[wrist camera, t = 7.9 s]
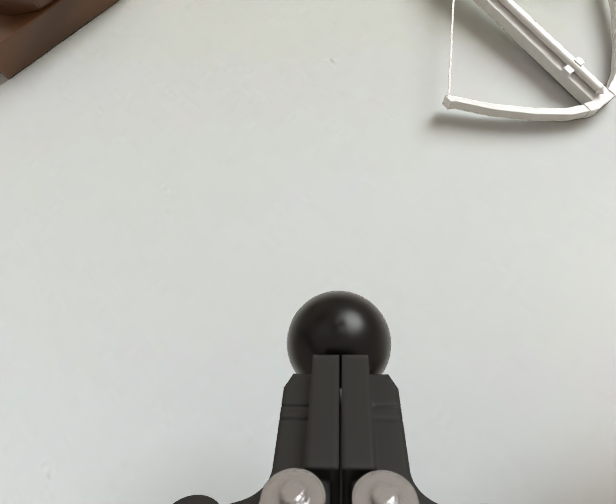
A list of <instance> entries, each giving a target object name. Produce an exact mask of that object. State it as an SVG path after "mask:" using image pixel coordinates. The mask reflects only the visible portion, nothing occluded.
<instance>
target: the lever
mask: <svg viewBox="0 0 616 504" xmlns="http://www.w3.org/2000/svg"><path fill="white" fill-rule="evenodd" d="M287 350H288V356H289V359H290V362H291V364H292V367H293V369H294V370H295V372H296V373H297V374H311V373H312V360H313V355H339V364H340V504H342V355H368V359H369V372H370V374H382V373H383V371H384V370H385V368H386V366H387V363H388V360H389V357H390V351H391V337H390V332H389V328H388V326H387V323H386V321H385V319H384V317H383V315H382V314H381V312H380V311H379V310H378V309H377V308H376V307H375V306H374V305H373V304H372V303H371V302H370V301H368V300H367V299H365V298H364V297H362V296H360V295H357V294H354V293H351V292H346V291H331V292H326V293H323V294H320V295H317V296H315V297H313V298H312V299H310V300H309V301H307V302H306V303H305V304H304V305H303V306H302V307H301V308H300V309H299V310H298V312H297V313H296V314H295V316H294V318H293V320H292V322H291V324H290V327H289V331H288V336H287Z"/></svg>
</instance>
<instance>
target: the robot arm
mask: <svg viewBox="0 0 616 504" xmlns="http://www.w3.org/2000/svg"><path fill="white" fill-rule="evenodd" d="M173 504H219V503H218V502H217V501H215V500H214V499H212V498H210V497H208V496H204V495H192V496H187V497H185V498H182V499H180V500H178V501H176V502H175V503H173ZM231 504H340V364H339V355H313V360H312V373H311V374H293V375H292V377H291V378H290V380H289V381H288V383H287V384H286V386H285V387H284V391H283V398H282V407H281V412H280V420H279V427H278V434H277V441H276V448H275V455H274V462H273V469H272V473H271V476H270V478H269V480H268V481H267V482H266V484H265V485H264V487H263V488H262V489H261V490H260V491H259V492H257V493H256V494H254V495H253V496H251V497H249V498H247V499H244V500H242V501H238V502H235V503H231ZM342 504H437V503H435V502H433V501H431V500H430V499H428V498H427V497H426V496H424V495H423V494H422V493H421V492H420V491H419V489H418V488H417V487H416V485H415V484H414V482H413V480H412V477H411V474H410V469H409V462H408V455H407V447H406V440H405V433H404V426H403V422H402V412H401V407H400V398H399V391H398V388H397V386H396V385H395V384H394V382H393V381H392V379H391V378H390V376H389V375H382V374H370V372H369V359H368V355H342Z"/></svg>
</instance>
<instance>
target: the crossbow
mask: <svg viewBox="0 0 616 504" xmlns="http://www.w3.org/2000/svg"><path fill="white" fill-rule="evenodd" d="M473 1H474V2H475V3H476V4H477V5H478V6H479V7H480V8H481V9H482V10H484V11H485V12H486V13H487V14H488V15H489V16H490V17H491V18H492V19H493V20H494V21H495V22H496V23H497V24H498V25H499V26H500V27H501V28H502V29H503V30H504V31H506V32H507V33H508V34H509V35H510V36H511V37H512V38H513V39H514V40H515V41H516V42H517V43H518V44H519V45H520V46H521V47H522V48H523V49H524V50H525V51H526V52H528V53H529V54H530V55H531V56H532V57H533V58H534V59H535V60H536V61H537V62H538V63H539V64H540V65H541V66H542V67H543V68H544V69H545V70H546V71H547V72H548V73H550V74H551V75H552V76H553V77H554V78H555V79H556V80H557V81H558V82H559V83H560V84H561V85H562V86H563V87H564V88H565V89H566V90H567V91H568V92H569V93H570V94H572V95H573V96H574V97H575V98H576V99H577V100H578V101H579V102H580V103H581V104H582V105H579V106H574V107H570V108H528V107H518V106H509V105H500V104H491V103H485V102H481V101H476V100H471V99H466V98H461V97H457V96H453V95H450V84H451V62H452V41H453V19H454V0H452V20H451V42H450V63H449V84H448V95H445V98H444V100H443V102H442V104H443V105H444V106H445V107H446V108H447V109H458V110H463V111H468V112H473V113H477V114H482V115H487V116H492V117H501V118H510V119H519V120H528V121H569V120H574V119H579V118H586V117H590V116H593V115H594V114H595V113H596V112H597V111H598V110H599V109H600V108H602V107H603V106H604V105H605V104H606V103H607V104H608V103H609V102H610V101H611V100H612V99H613V98H614V97H615V96H616V0H608V1H609V7H610V12H611V27H612V45H613V47H612V61H611V74H610V77H609V80H608V82H607V85H606V87H605V86H604V85H603V84H602V83H601V82H600V81H599V80H598V79H597V78H595V77H594V76H593V75H592V74H591V73H590V72H589V71H588V70H587V69H586V68H585V67H584V66H583V64H584V63H585V62H584V61H583V60H582V59H581V58H580V57H579V56H578V57H577V58H576V59H575V58H574V57H573V56H572V55H571V54H570V53H569V52H568V51H566V50H565V49H564V48H563V47H562V46H561V45H560V44H559V43H558V42H557V41H556V40H555V39H554V38H553V37H551V36H550V35H549V34H548V33H547V32H546V31H545V30H544V29H543V28H542V27H541V26H540V25H539V24H538V23H536V22H535V21H534V20H533V19H532V18H531V17H530V16H529V15H528V14H527V13H526V12H525V11H524V10H522V9H521V8H520V7H519V6H518V5H517V4H516V3H515V2H514V1H513V0H473Z"/></svg>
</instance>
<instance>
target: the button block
mask: <svg viewBox="0 0 616 504" xmlns="http://www.w3.org/2000/svg"><path fill="white" fill-rule="evenodd" d="M117 1H118V0H0V71H1V72H2V73H3V74H4V75H5V76H6V77H7V78H11V77H12V76H14V75H15V74H16V73H18V72H19V71H21V70H22V69H23V68H25V67H26V66H28V65H29V64H30V63H32V62H33V61H35V60H36V59H37V58H39V57H40V56H42V55H43V54H44V53H46V52H47V51H49V50H50V49H51V48H53V47H54V46H56V45H57V44H58V43H60V42H61V41H63V40H64V39H65V38H67V37H68V36H70V35H71V34H72V33H74V32H75V31H76V30H78V29H79V28H81V27H82V26H83V25H85V24H86V23H88V22H89V21H90V20H92V19H93V18H95V17H96V16H97V15H99V14H100V13H102V12H103V11H104V10H106V9H107V8H109V7H110V6H111V5H113V4H114V3H116V2H117Z"/></svg>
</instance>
